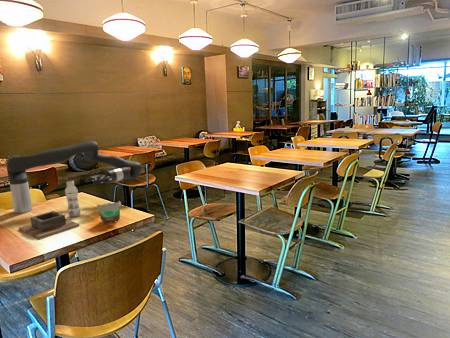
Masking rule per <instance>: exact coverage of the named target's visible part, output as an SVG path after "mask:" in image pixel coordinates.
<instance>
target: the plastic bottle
mask: <svg viewBox="0 0 450 338" xmlns="http://www.w3.org/2000/svg"><path fill="white" fill-rule="evenodd" d="M78 191H79V190H78V188H77V187H76V186H75V181H74V180H67V181H66V187H65V189H64V194H65V197H66V201H67V214H68V216H69V217H70V218H72V217H78V216H80V215H81V207H80V203H79V198H78V193H79V192H78Z"/></svg>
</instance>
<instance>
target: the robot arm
mask: <svg viewBox="0 0 450 338" xmlns="http://www.w3.org/2000/svg"><path fill="white" fill-rule="evenodd" d="M78 154H82V155H83V157H84V158H85V159H87V160H90V161H93V162H97V163H101V164H104V165H108V166H111V167H114V168H113V169H109V170H106V171H104V173H103V174H95V175H90V176H89V177H87V178H85V179H84V182H85V183H91V182H93V184H94V185H97V184H106V183H107V184H111V183H115V182H119V181H122V180H125V179H133V180H134V179H135V180H136V179H138V178H140V176H141V173H142V170H143V165H142V163H140V162H139V161H138V162H137V161H131V160H127V159H125V158H122V157H120V156H116V155H104V154H102V153H100V152H99V144H98V142H96V141H94V140H87V141H83V142H80V143H79V142H78V143H76V144H71V145H68V146H62V147H55V148H51V149H47V150H44V151H40V152H37V153H34V154H31V155H22V156H21V155H19V154H18V155H17V154H13V155H10V156H8V158H7V159H6V160H5V165H6V166H5V167H6V171H7V177H8V182H9V186H10V187H9V188H10V193H11V200H12V206H13V212H14V213H16V214H23V213H24V214H25V213H28V212H31V211H32V210H33V205H32V200H31V199H32V198H31V193H30V187H29V179H28V175H27V171H26V170H29V169H33V168H38V167H44V166H45V167H47V166H52V165H57V164H62V163H64V162H66V161H68V160H70V159H71V158H73V157H74V156H77V155H78Z"/></svg>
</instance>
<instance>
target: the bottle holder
mask: <svg viewBox="0 0 450 338" xmlns="http://www.w3.org/2000/svg"><path fill="white" fill-rule="evenodd" d="M77 227H80V223H79V222H75V221H72V220H70V219H68V218H66V215H65V214H63V213H61V212H57V211H55V210H52V211H48V212H44V213H41V214H38V215H34V216H31V217H30V223H29V224H26V225H21V226H19V227H18V231H21V232H23V233H25V234H27V235H29V236H31V237H34V238H35V239H38V240H42V239H45V238H48V237H50V236H53V235H56V234H60V233H62V232H65V231H69V230H71V229H74V228H77Z"/></svg>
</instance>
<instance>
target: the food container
mask: <svg viewBox="0 0 450 338" xmlns="http://www.w3.org/2000/svg"><path fill="white" fill-rule="evenodd" d="M121 206H122V203H121V201H120V200H118V202H108V203H107V202H106V203H104V204H97V205H96V209H98V213H99V217H100V221H102V222H103V224H111V223H110V222H114V223H116V222H115V221H117V222H119V221H120V220H121ZM119 219H120V220H119ZM118 220H119V221H118ZM102 222H101V223H102Z"/></svg>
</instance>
